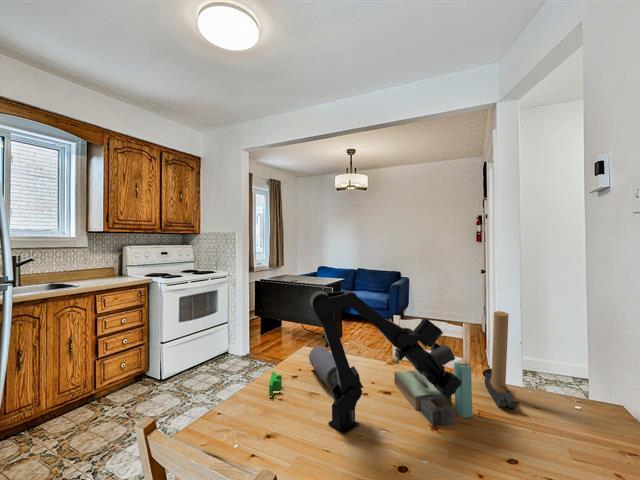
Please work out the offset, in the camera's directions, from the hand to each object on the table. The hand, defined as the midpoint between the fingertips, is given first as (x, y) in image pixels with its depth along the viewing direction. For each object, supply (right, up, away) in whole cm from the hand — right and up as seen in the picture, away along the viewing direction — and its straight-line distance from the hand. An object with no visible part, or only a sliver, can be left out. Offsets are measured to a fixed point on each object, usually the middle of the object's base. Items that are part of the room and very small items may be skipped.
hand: (454, 392), depth 92 cm
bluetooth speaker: (-38, -8, +25) cm, 47 cm away
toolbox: (-5, -7, +8) cm, 12 cm away
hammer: (+20, -7, +11) cm, 23 cm away
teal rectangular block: (+3, -7, 0) cm, 7 cm away
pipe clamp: (-57, -8, +18) cm, 60 cm away
